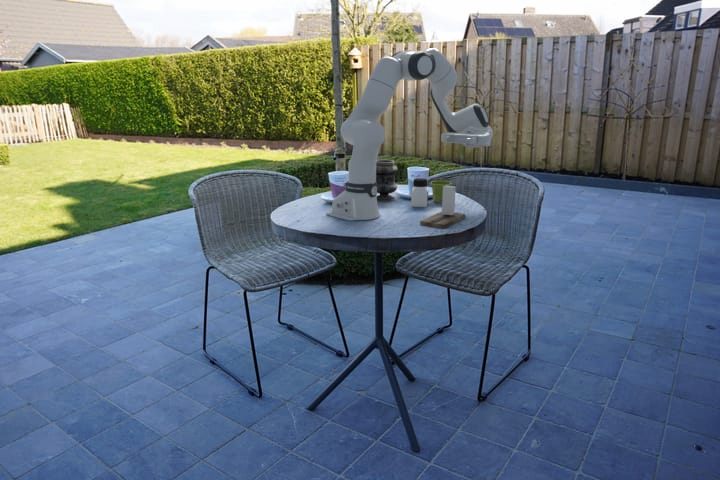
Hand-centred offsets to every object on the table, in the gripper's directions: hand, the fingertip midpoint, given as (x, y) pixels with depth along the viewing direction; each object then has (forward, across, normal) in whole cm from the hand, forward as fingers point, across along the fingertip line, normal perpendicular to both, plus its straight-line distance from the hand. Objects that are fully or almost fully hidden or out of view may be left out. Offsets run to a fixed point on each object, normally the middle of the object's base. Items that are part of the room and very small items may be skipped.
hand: (457, 140), depth 200 cm
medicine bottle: (-3, -18, +30) cm, 35 cm away
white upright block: (+12, +3, +28) cm, 30 cm away
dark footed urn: (-5, -38, +30) cm, 49 cm away
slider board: (+16, +3, +30) cm, 34 cm away
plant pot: (-15, -14, +30) cm, 36 cm away
